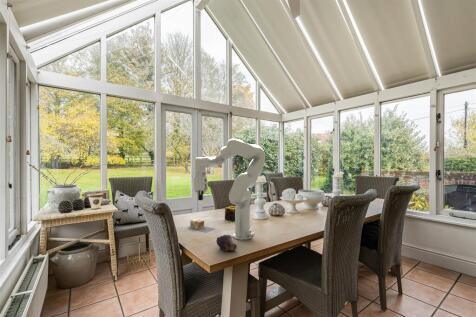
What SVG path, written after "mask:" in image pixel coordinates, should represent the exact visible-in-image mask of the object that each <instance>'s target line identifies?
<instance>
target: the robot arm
mask: <svg viewBox="0 0 476 317" xmlns="http://www.w3.org/2000/svg"><path fill="white" fill-rule="evenodd" d="M219 152H220V153H218V154H217V155H215V156H204V157H203V156H201V157H200V156H198V157H195V159H194V162H195V163H194V173H195V174H194V179H193V190H194V192H195V193H196V194H197V200H198V201H204V195H205V193H207V190H209V186H208V185H209V182H208V176H207V172H206V171H207V170H206V169H207V168H217V167H219V166H221V165H223V164H225V163H226V161H227V162H228V160H229V159H231V158H232V157H235V156H240V157H242V158H246V159H252V160H251V161H250V162H249V164H248V165H247V169H246V170H245V172H244V173H243V172H242V173H239V174H237V176H236V177H235V179H234V181H233V184H232V186H231V188H230V190H229V193H228V200H229V202H230V203H231V204H232V205H233V206H234V205H235V206H236V207H235V221H234V226H235V227H234V232H233V234H232V239H235V240H238V241H239V240H240V241H244V240H245V241H247V240H250V239H252V238H255V235H256V234H255V232H252V229H251V203H252V192H251V190H250V188H253V187H254V186H255V185H256V183H257V180H258V179H259V176H260V174H261V171H262V170H263V168H264V164H265V162H266V153H265V150H264V149H263V148H262V147H261V146H259V145H258V144H252V143H247V142H244V141H243V140H242V139H239V138H238V139H237V138H230V139H229V140H228V141H227V142H226V145H225V146H222V147H221V148H220V151H219Z"/></svg>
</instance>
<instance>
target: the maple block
mask: <svg viewBox="0 0 476 317" xmlns="http://www.w3.org/2000/svg"><path fill="white" fill-rule="evenodd" d="M189 221H190V222H189V223H190V226H189V227H192V228H196V229H201V228H204V226H205V220H203V219H199V218H198V219H197V218H193V219H190V220H189Z"/></svg>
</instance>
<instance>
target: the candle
mask: <svg viewBox="0 0 476 317" xmlns="http://www.w3.org/2000/svg"><path fill="white" fill-rule="evenodd" d="M235 207H236V205H235V206H234V205H230V206H226V207H224V220H225V221H230V222H235Z"/></svg>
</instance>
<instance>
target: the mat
mask: <svg viewBox="0 0 476 317" xmlns="http://www.w3.org/2000/svg"><path fill="white" fill-rule="evenodd" d="M186 228H187V229H189V230H190V229H191V230H194V231H198V232H202V233H210V232H211V231H214V230H216V228H214V227H209V226H206V225H204V228H201V229H196V228H192V227H190V226H188V227H186Z"/></svg>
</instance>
